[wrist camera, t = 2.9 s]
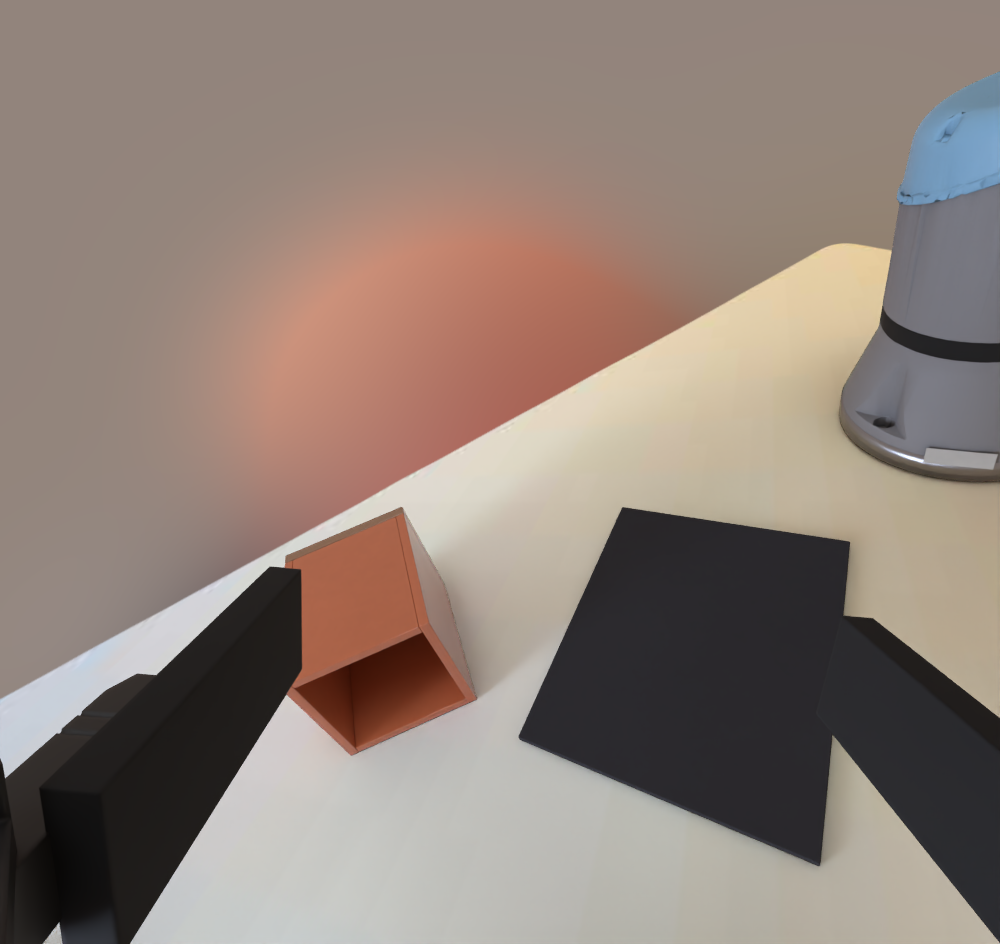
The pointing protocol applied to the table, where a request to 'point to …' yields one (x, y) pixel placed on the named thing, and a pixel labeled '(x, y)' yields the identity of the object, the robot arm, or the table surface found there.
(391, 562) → the open square box
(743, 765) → the mat
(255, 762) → the table surface
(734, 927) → the table surface
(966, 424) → the robot arm
